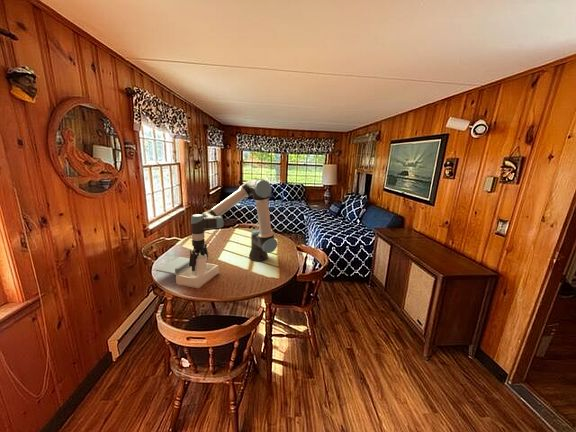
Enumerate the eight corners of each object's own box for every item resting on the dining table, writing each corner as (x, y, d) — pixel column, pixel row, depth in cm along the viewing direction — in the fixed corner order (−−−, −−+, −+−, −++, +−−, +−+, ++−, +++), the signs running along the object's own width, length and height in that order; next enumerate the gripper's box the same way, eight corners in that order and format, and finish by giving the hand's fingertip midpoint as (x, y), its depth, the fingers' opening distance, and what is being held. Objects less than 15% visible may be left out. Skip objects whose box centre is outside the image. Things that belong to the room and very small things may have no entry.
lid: (199, 261, 167) (199, 256, 166) (176, 275, 147) (176, 269, 146) (179, 258, 171) (179, 253, 171) (155, 270, 151) (155, 265, 150)
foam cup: (200, 279, 150) (199, 260, 147) (188, 276, 153) (187, 257, 150) (210, 273, 158) (209, 254, 155) (199, 270, 161) (198, 252, 159)
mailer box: (218, 273, 165) (218, 265, 163) (198, 288, 144) (198, 279, 143) (198, 269, 169) (198, 261, 168) (176, 284, 148) (175, 275, 147)
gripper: (203, 233, 162) (204, 264, 166) (181, 243, 141) (183, 278, 146) (213, 234, 160) (214, 265, 165) (191, 245, 139) (193, 280, 144)
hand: (199, 271), depth 155 cm, fingers closed on foam cup, 9 cm apart
